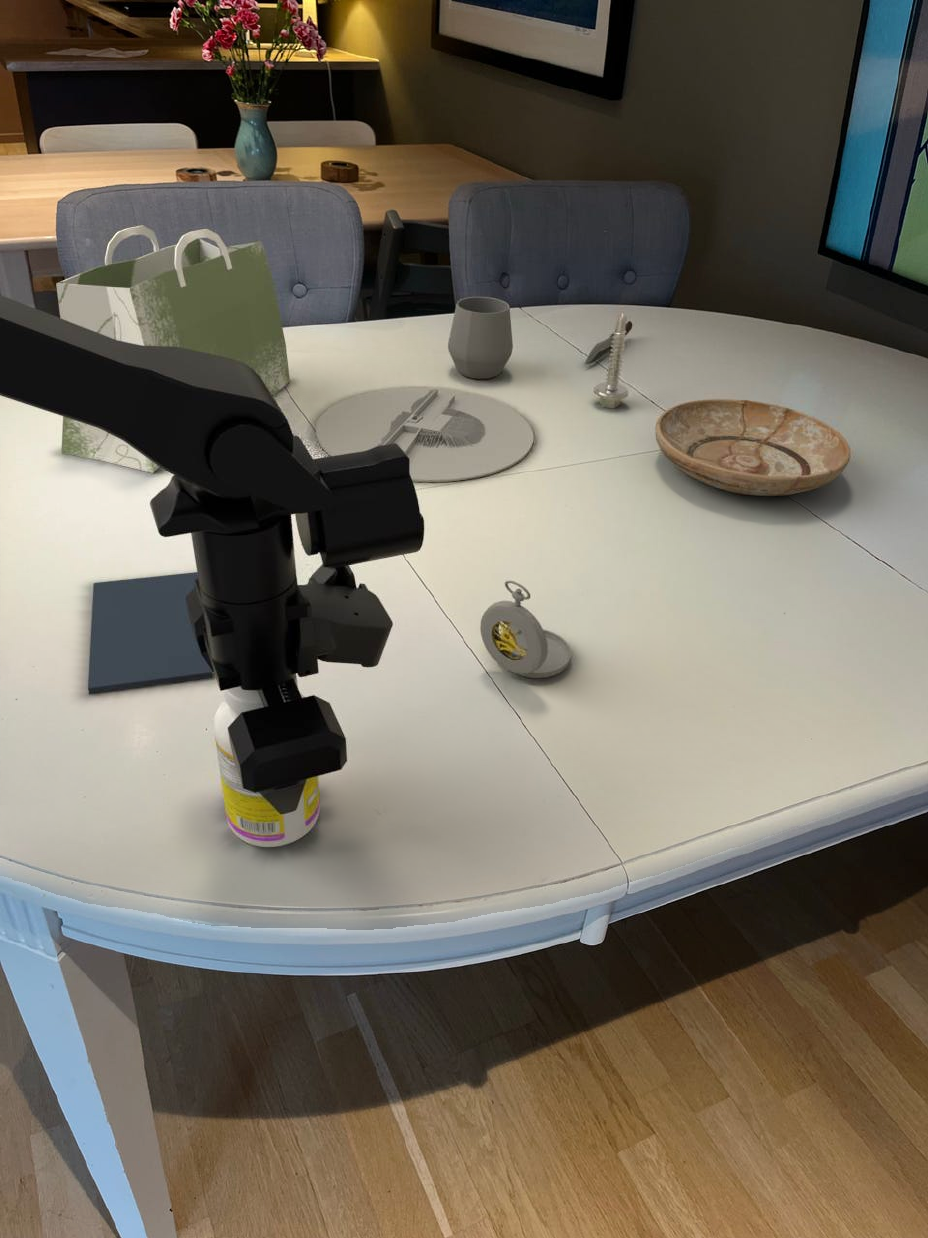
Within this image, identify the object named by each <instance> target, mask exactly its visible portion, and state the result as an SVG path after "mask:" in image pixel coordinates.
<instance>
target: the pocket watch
mask: <svg viewBox="0 0 928 1238" xmlns="http://www.w3.org/2000/svg"><path fill="white" fill-rule="evenodd" d="M509 584H512V585H515V586H517V587H519V588H516V589H515V591H513V590H512V589H511V588H510V586H509ZM504 586H505V589H506V590H507V591H508V592H509V593H510V594H511V597H512V599H514V601H512V600H500V601H495V602H493V603H492V604H490V606H489V607H487V608H486V610H485V611H484V613H483V615H482V617H481V619H480V625H479V626H480V636H481V639H482V643H483V645H484V648H485V649H486V651H487V652H488V654H489V655H490V656H491V658H492V659H493V660H494V662H496V663H497V664H498V665H500V666H501V667H502V668H503V669H505V670H507V671H509V672H511V673H514V674H516V675H519V676H522V677H526V678H533V679H539V678H541V679H542V678H549V677H552V676H553V677H554V676H557V675H558V674H560V673H562V672H563V671H564V670H565V669H566V668H567V667H569V664H570V662H571V660H572V650H571V646H570V645H569V643H568V642H567V640H565V639H564V637H562V636H560V635H558V634H557V633H556V632H553V631H550V630H547V629H543V626H542V625H541V622H539V620H538V619H537V618H536V616H535V615H534V614H533V613H532V612H530V611H529V610H528V608H526V607H525V606H523V605H521V604H522V602H524V601H525V600H530V599H531V593H530V592H529V590H528V589H527V588H526V587H525V586H524V585H522V584H520V583H519V582H516V581H515V580H506V581H505V582H504ZM522 591H524V592H525V594H526V595H527V596H525V594H524V593H522ZM500 627H501V628H500Z"/></svg>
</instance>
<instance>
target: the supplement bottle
mask: <svg viewBox="0 0 928 1238" xmlns="http://www.w3.org/2000/svg"><path fill="white" fill-rule="evenodd" d="M292 675H293V678H294V680H295V682H296V685H297V687H298V688H299V686H298V678H297V676H298V675H297V673H296V674H292ZM278 687H279V685H278ZM279 690H280V692H281V689H280V688H279ZM300 694H301V696H302V698H304V697H305V695H303V693H301V692H300ZM281 695H282V693H281ZM282 697H283V700H284V696H283V695H282ZM223 698H224V700H223V701H222V702H221V704H220V705H219V706H218V708H217V710H216V712H215V714H214V718H213V734H214V735H213V736H214V740H215V747H216V754H217V760H218V768H219V775H220V782H221V789H222V796H223V802H224V803H223V804H224V810H225V815H226V816H225V817H226V821H227V823H228V826H229V828H230V830H231V831H232V832H233V833H234V834H235V835H236V837H237V838H238V839H240V840H241V841H243V842H245V843H247V844H249V845H252V846H256V847H261V848H275V847H276V848H277V847H282V846H286V845H289V844H291V843H294V842H296V841H298V840H299V839H301V838H303V837H305V835H306V834H308V833H309V832H310V831H311V830H312V828H313V827H314V826H315V824H316V823H317V821H318V818H319V816H320V810H321V802H320V799H321V798H320V783H319V776H316V777H312V778H309V779H307V781H306V784H305V787H304V790H303V792H302V795H301V798H300V801H299V804H298V807H297V809H296V810H295V811H294V812H290V813H287V814H282V815H281V814H279V813H278V812H277V811H276V810H275V808H274V807H273V806H272V805H271V804H270V803H269V802H268V801H267V800H266V799H265V798H264V797H263V796H262V795H261V794H260V793H259V792H256V793H254V792H251V791H248V790H245V789H243V787H242V784H241V780H240V777H239V774H238V771H237V768H236V765H235V761H234V758H233V754H232V749H231V745H230V741H229V734H228V727H229V726H230V725H231V723H232V722H233V721H234V720H235V719H236V718H237V717H238V716H239V715H240V713H241V712H246V711H250V710H254V709H258V708H262V707H264V706H263V703H262V701H261V698H260V695H259V693H258V690H243V689H241V686H240V687H235V688H231V689H227V690H223ZM284 702H285V700H284Z"/></svg>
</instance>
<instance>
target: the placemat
mask: <svg viewBox="0 0 928 1238" xmlns="http://www.w3.org/2000/svg"><path fill="white" fill-rule="evenodd" d="M195 579H198V573H197V571H195V572H185V573H175V574H166V575H156V576H148V577H147V576H146V577H138V578H137V577H136V578H129V579H128V578H127V579H118V580H117V579H116V580H108V581H99V582H98V581H97V582H93V585H92V588H93V589H92V601H91V602H92V604H91V619H90V620H91V621H90V640H89V641H90V642H89V657H88V659H89V660H88V675H87V676H88V679H87V690H88V691H87V692H88V694H97V693H103V692H111V691H118V690H124V689H125V690H126V689H133V688H140V687H141V688H142V687H149V686H156V685H163V684H172V683H179V682H187V681H193V680H201V679H202V680H203V679H208V678H214V673H213V671H212V670H211V668H210V667H209V665H208V664H207V662H206V661H205V659H204V658H203V656H202V655H201V653H200V650H199V647H198V643H197V640H196V639H195V635H194V632H193V629H192V626H191V623H190V620H189V615H188V609H187V603H186V596H187V595H188V594H189V593H190V592H191V591H192V589H193V588H194V587H195V586H196V585H195ZM203 626H204V625H203Z"/></svg>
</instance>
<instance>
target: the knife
mask: <svg viewBox="0 0 928 1238" xmlns="http://www.w3.org/2000/svg"><path fill="white" fill-rule="evenodd" d="M632 328H633V322H632V321H631V320H628V321H626V327H625V330H626V333H625V335H626V336H627V335H628V334H629V333H630V332H631V331H632ZM613 336H614V333H613V332H612V333H611V334H610V335H609V337H608V338H607V339H605V340H603V341H600V342H598V343H596V344H595V345H594V346H593V347H592V349H591V351H590V353H589V354H588V356H587V358H586V360H585V362H583V363H584V365H590V364H593V363H595V362H597V361H598V360H600V359H601V358H603V357H605V356H606V355H607V354H609V352H611V351H610V350H611V349H612V347H611V345H612V342H611V341H613V338H612V337H613Z"/></svg>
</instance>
